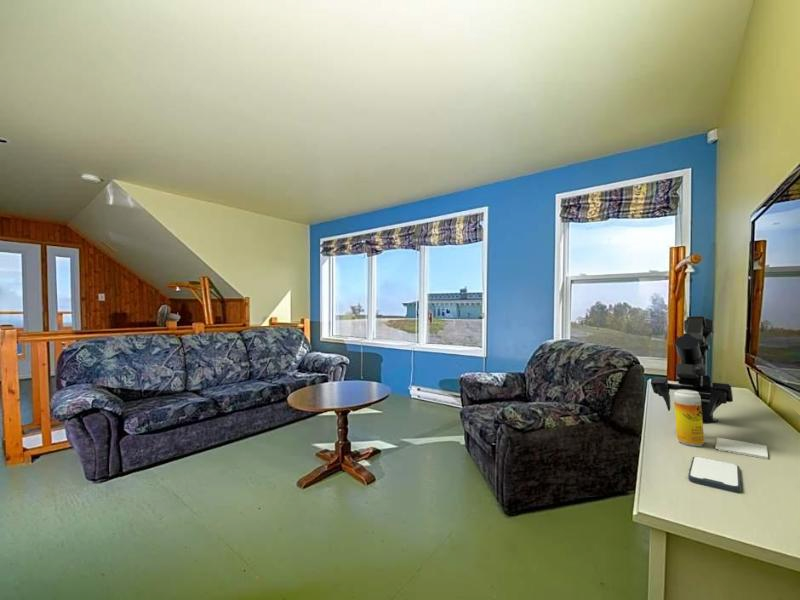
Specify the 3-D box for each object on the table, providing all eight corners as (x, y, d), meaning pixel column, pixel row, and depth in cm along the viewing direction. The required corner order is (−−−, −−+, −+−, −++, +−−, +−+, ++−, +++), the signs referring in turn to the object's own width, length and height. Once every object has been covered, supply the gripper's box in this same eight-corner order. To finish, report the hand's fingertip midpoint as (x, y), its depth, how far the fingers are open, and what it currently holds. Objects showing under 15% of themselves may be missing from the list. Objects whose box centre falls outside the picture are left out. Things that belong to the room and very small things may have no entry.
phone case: (692, 461, 90) (687, 483, 79) (692, 455, 90) (687, 475, 79) (740, 471, 84) (741, 496, 73) (739, 464, 84) (741, 488, 73)
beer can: (698, 448, 97) (694, 394, 97) (673, 442, 102) (669, 390, 103) (708, 444, 99) (704, 391, 100) (683, 438, 105) (679, 388, 106)
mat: (717, 439, 103) (717, 437, 103) (766, 447, 95) (766, 445, 95) (715, 449, 96) (715, 447, 96) (768, 459, 88) (767, 456, 88)
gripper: (649, 352, 113) (644, 392, 104) (728, 355, 99) (729, 401, 91) (656, 373, 118) (651, 412, 109) (732, 379, 104) (733, 424, 96)
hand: (688, 412), depth 101 cm, fingers open, 9 cm apart
